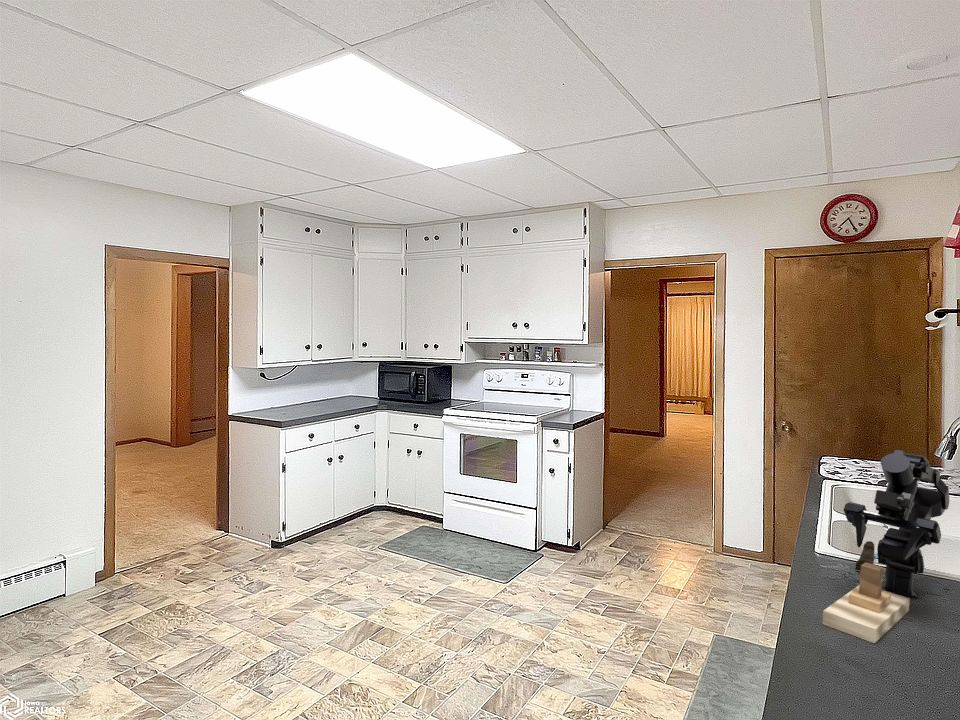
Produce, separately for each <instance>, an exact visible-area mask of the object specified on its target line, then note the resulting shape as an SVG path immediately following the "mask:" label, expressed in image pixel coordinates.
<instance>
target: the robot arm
mask: <svg viewBox="0 0 960 720" xmlns="http://www.w3.org/2000/svg"><path fill="white" fill-rule="evenodd" d="M880 466H881V469H882V472H883V475H884V476H883V477H884V479H885V482H887V486H886V488H885V490H881V489H876V491H875V496H874V500H873V503H874V505H875V504H876V505H875V511H878V512H877V513H875V512H873V511H872V512H871V511H868V510H867V508H866V505H864V504H860V503H857V502H856V503H855V502H851V501H849V502H847V503H845V504H844V507H843V512H844V514H845V518H846V520H847V522H849V523H851V525H852V527H855V532H856V533H855V537H856V545H857V548H861V546H862V544H863V543H864V542H863V541H864V538H865V535H866V531H867V526H866V525H867V524H868V521H871V522H874V523H879V524H883V525H887V526H892V527H888V529H887V530H886V532H885V534H884V535H883V537H882V539H879V541H878V544H877V564H880V565H884V566H885V576H884V577H885V578H884V581H882V590H884V591H887V592H891V593H894V594H897V595H900V596H904V597H907V598H915V599H917V598H918V595H917V594H916V593H915V591H914V589H913V588H914V587H913V586H914V574H915V575H919V574H924V572H925V562H924V557H923V554H922V553H923V552H922V550H921V548H923V547H924V546H926V545H927V546H931V545H932V543H933V544H940V542H941V538H942V531H941V528H940V524H939V522H938V521H937V520H934V519H933V518H937V517H941V516H942V515H944V514H943V513H944V512H945V511H946V510H948V509H949V505H950V488H949V487H948V485H946V483H945V482H944V481H943V479H941V472H940V470H939V469H937V468H935V467H932V466H931V463H930V462H929V460H928V458H927V457H926V456H925V455H919V454H914V453H909V452H908V453H906V452H905V450H899V449H895V450H894V451H893V452H892V453H889V454H886V455H884V456H883V457H882V458H881V460H880ZM918 482H921V483H922V482H923V483H928V484H933V485H934V488H935V489H934V488H933V489H931V488H927V487H922V486H918ZM895 527H896V528H895ZM897 528H898V529H897Z"/></svg>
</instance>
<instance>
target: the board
mask: <svg viewBox="0 0 960 720" xmlns="http://www.w3.org/2000/svg"><path fill="white" fill-rule="evenodd" d="M858 587H859V584H858V585H857V586H855V587H854V588H853V589H851V590H850V591H849V592H847V593H846V594H844V595H843V596H842V597H841V598H839V599H837V600H836V601H835V602H833V603H832V604H830V605H829V606H828V607H826V608H825V609H824V610H822V621H821V622H822V623H821V625H824V626H827V627H828V628H832V629H835V630H837V631H840V632H842V633H845V634H848V635H850V636H854V637H857V638H858V639H862V640H864V641H867V642H869V643H872V644H876V643H877V642H878V641H879V640H881V638H882V637H883V636H884V635H885V634H887V632H889V630H891V628H893V626H895V625H896V623H898V622H899V621H900V620H901V619H902V618H903V617H905V615H906V614H907V613H908V612H909V611H910V600H911V597H908V596H902V595H897V594H894V593H891V592H887V591H885V590H884V589H882V592H884V593H887V594H890V595H891V601H890V604H889V605H888V606H887V607H885V608H884V609H883V610H882V611H881V612H880V613H877V612H874V611H871V610H868V609H865V608H862V607H859V606H856V605H853V604H850V603H848V600H849V594H850V593H851V592H853V591H854V590H856V589H857V588H858Z"/></svg>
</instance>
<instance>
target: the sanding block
mask: <svg viewBox="0 0 960 720" xmlns="http://www.w3.org/2000/svg"><path fill="white" fill-rule="evenodd" d="M883 579H884V566H880V565H878V564H877V565H876V564H874V563H873V564H870V563H866V562H865V563H864V564H862V565H861V571H860V573H859V584H858V585H859V587H858V588H857V589H856V590H854V591H853V592H851V593H850V594H849V600H848V603H850V604H853V605H856V606H859V607H862V608H865V609H868V610H871V611H874V612H877V613H880V612H881V611H882V610H883V609H884V608H885V607H887V606H888V605H889V604H890V601H891V595H890V594H887V593H884V592H882V590H883V587H882V582H884V581H883Z"/></svg>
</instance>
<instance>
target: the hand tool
mask: <svg viewBox="0 0 960 720" xmlns="http://www.w3.org/2000/svg"><path fill="white" fill-rule="evenodd" d="M865 562H866V563H870V564H873V565H874V562H875V543H874V542H873V541H871V540H870V541H869V540H867V541H865V543H864V544H863V548H862V552H861V553H860V556H859V559H858V560H856V562H855V568H854V569H855V571H856V570H860V571H861V565H862V564H864V563H865Z"/></svg>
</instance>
